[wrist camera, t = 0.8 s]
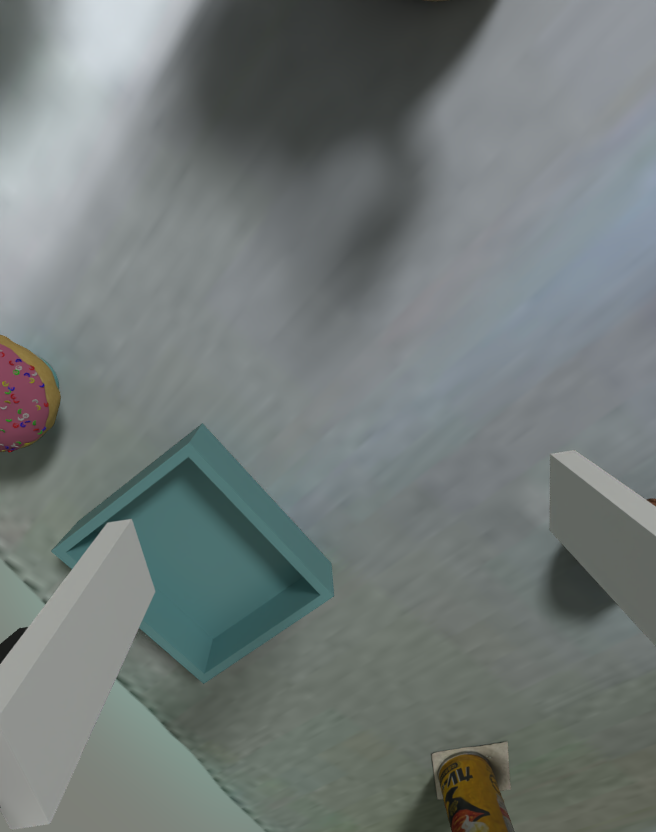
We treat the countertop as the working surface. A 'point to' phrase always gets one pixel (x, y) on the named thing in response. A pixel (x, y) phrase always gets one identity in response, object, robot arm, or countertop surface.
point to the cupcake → (25, 396)
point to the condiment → (474, 787)
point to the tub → (211, 555)
